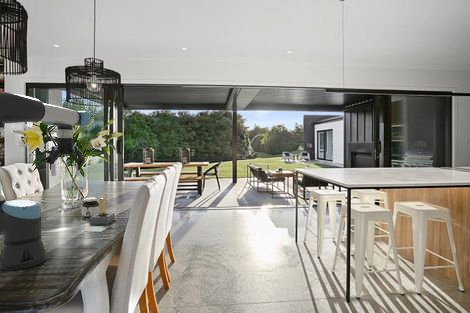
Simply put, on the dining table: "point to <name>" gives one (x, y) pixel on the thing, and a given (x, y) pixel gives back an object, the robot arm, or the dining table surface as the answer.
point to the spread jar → (90, 207)
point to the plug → (102, 206)
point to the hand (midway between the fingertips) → (65, 175)
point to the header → (102, 218)
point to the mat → (96, 229)
